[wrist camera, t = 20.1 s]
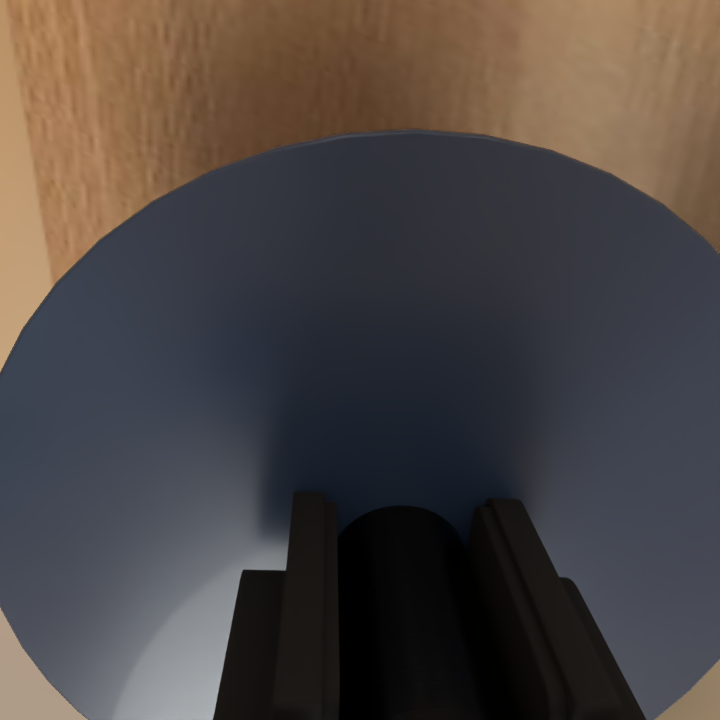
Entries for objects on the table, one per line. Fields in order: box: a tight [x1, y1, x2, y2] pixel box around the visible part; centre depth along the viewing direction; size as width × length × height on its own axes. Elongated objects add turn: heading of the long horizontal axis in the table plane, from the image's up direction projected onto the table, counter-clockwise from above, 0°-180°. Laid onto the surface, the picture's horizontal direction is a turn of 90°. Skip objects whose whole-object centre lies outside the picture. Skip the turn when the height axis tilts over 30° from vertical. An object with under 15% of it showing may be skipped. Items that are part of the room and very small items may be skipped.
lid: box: [0, 128, 720, 720], centre depth 9 cm, size 14×14×6 cm
